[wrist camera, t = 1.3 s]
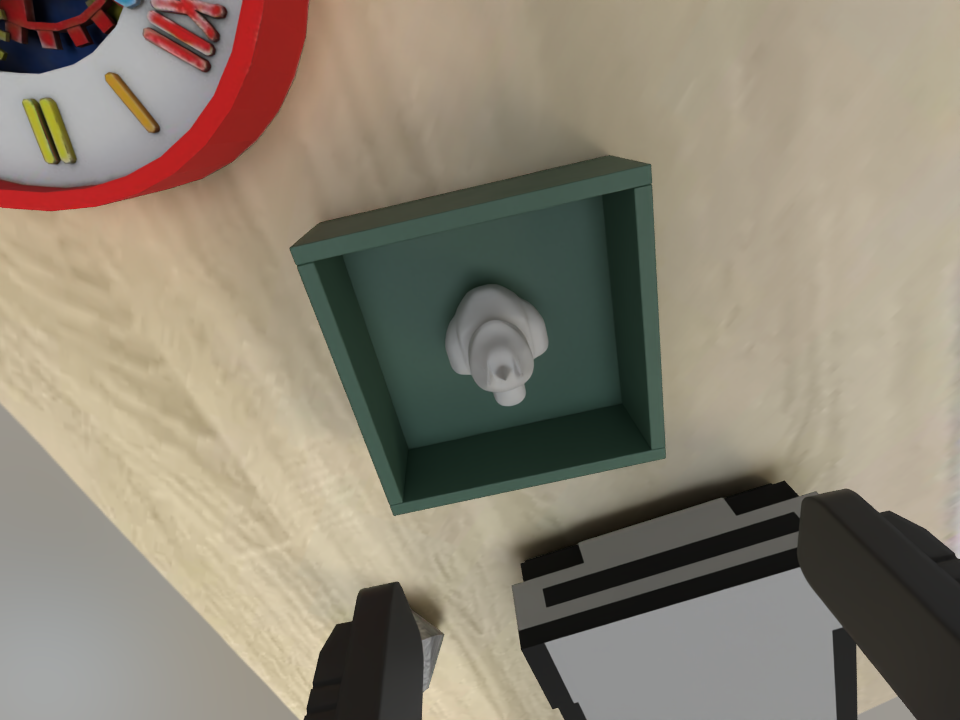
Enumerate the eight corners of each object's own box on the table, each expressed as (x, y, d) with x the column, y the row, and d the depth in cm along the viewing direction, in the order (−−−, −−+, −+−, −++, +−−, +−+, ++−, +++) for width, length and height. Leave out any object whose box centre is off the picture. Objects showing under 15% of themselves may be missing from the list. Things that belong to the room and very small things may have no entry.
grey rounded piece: (527, 262, 27) (557, 314, 20) (549, 365, 30) (583, 443, 23) (431, 287, 27) (428, 348, 20) (463, 387, 30) (469, 471, 23)
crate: (318, 222, 26) (288, 248, 21) (610, 154, 25) (651, 164, 20) (401, 455, 33) (393, 516, 28) (631, 405, 32) (666, 458, 27)
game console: (604, 751, 51) (631, 858, 44) (505, 543, 37) (521, 649, 30) (805, 696, 49) (869, 799, 42) (780, 456, 35) (870, 546, 28)
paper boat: (455, 679, 42) (346, 726, 40) (432, 600, 45) (330, 640, 43) (461, 681, 32) (316, 745, 30) (431, 580, 35) (298, 630, 33)
